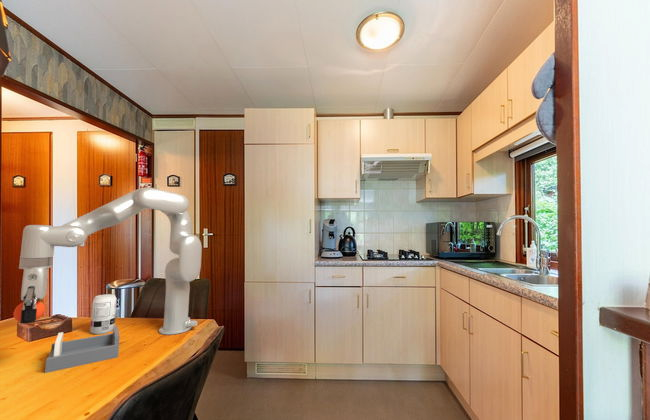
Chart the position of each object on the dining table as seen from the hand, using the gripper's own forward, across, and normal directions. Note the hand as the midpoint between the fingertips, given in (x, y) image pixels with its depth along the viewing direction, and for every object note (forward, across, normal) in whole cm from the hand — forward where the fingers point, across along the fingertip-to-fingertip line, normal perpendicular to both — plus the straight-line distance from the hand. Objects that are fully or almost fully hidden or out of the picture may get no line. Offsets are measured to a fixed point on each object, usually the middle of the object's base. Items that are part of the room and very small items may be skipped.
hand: (30, 319), depth 89 cm
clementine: (+1, 0, 0) cm, 1 cm away
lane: (+15, 0, -14) cm, 21 cm away
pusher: (+14, 0, -7) cm, 16 cm away
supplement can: (+15, +26, -20) cm, 36 cm away
